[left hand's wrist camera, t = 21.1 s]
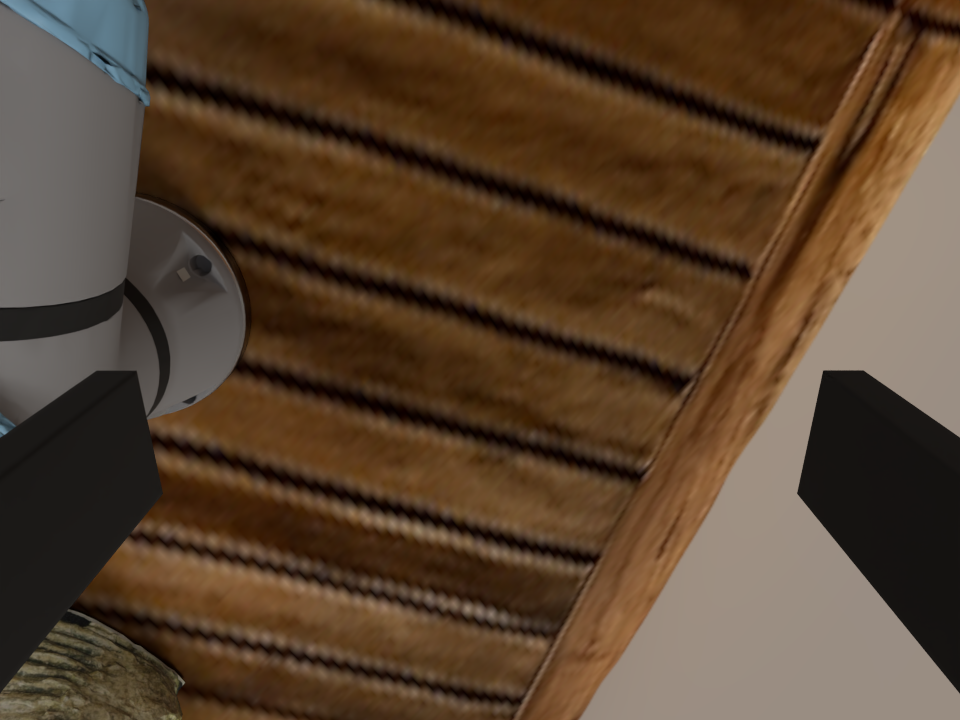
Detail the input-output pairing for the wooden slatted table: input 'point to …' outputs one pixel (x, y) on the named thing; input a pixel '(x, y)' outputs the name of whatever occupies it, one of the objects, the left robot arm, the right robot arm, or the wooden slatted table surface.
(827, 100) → the wooden slatted table surface
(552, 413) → the wooden slatted table surface
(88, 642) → the fossil
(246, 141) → the wooden slatted table surface
